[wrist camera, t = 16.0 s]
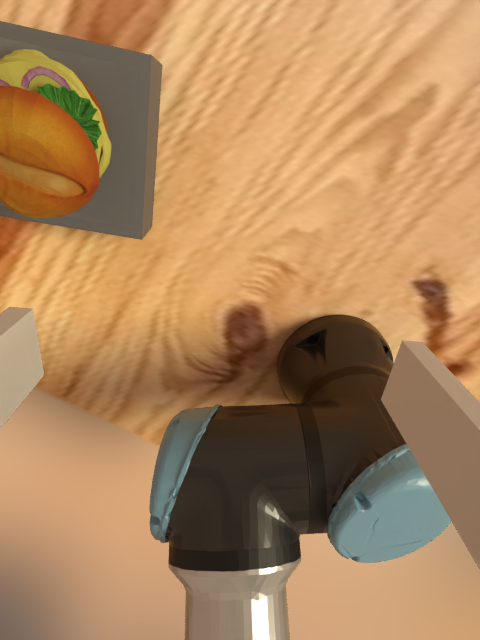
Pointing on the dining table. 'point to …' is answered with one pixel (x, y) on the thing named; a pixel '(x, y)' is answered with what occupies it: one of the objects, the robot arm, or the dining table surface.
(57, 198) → the cheeseburger
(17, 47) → the tray
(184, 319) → the dining table surface
